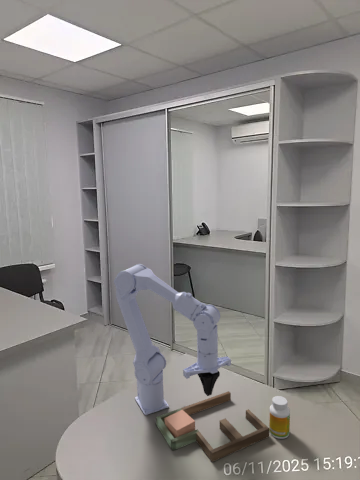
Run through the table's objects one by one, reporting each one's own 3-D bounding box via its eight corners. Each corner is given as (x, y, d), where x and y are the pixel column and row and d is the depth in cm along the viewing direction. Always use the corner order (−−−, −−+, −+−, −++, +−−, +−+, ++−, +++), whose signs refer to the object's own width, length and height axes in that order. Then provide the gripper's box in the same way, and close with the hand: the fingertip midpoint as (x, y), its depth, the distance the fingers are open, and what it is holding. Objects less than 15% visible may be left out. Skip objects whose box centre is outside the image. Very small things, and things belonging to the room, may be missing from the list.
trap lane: (156, 424, 100) (155, 416, 100) (228, 398, 111) (228, 391, 110) (187, 473, 83) (186, 464, 83) (269, 436, 94) (269, 428, 94)
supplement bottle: (290, 440, 92) (291, 407, 91) (269, 438, 94) (270, 405, 92) (288, 426, 98) (289, 395, 96) (268, 424, 99) (269, 393, 97)
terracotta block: (165, 432, 97) (164, 418, 96) (182, 423, 100) (182, 409, 100) (177, 445, 92) (176, 430, 91) (195, 435, 96) (195, 421, 95)
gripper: (191, 362, 91) (192, 409, 93) (237, 349, 97) (237, 393, 99) (179, 350, 97) (180, 395, 99) (223, 339, 103) (223, 381, 106)
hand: (207, 393), depth 100 cm, fingers closed
